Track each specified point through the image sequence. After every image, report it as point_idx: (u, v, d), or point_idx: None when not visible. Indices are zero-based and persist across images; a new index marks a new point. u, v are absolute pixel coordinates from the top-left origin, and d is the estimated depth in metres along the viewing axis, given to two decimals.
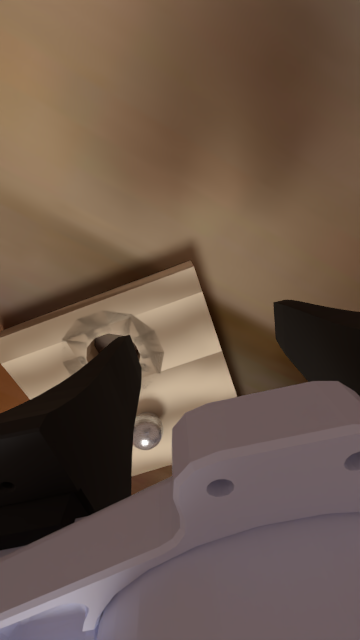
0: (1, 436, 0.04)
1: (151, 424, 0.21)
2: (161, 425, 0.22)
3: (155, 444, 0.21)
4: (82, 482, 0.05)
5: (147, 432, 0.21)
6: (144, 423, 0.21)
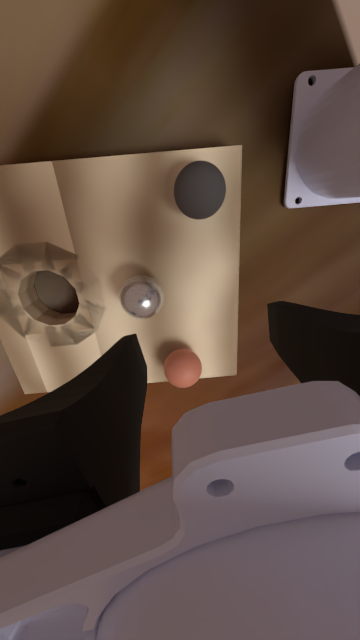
0: (16, 433, 0.04)
1: (123, 287, 0.17)
2: (136, 276, 0.17)
3: (147, 292, 0.16)
4: (94, 480, 0.05)
5: (125, 295, 0.16)
6: (120, 295, 0.17)
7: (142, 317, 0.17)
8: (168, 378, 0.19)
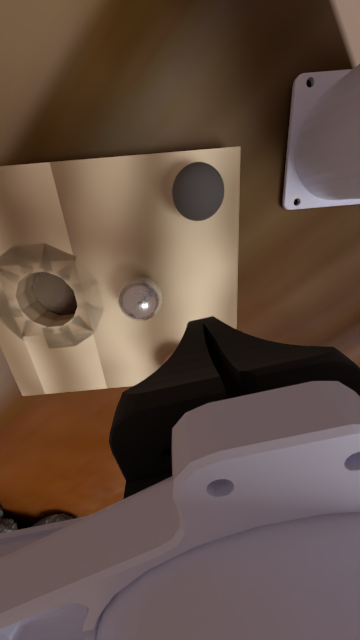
0: (184, 397, 0.04)
1: (121, 289, 0.17)
2: (135, 278, 0.17)
3: (145, 294, 0.16)
4: None
5: (123, 297, 0.16)
6: (118, 296, 0.17)
7: (140, 319, 0.17)
8: None
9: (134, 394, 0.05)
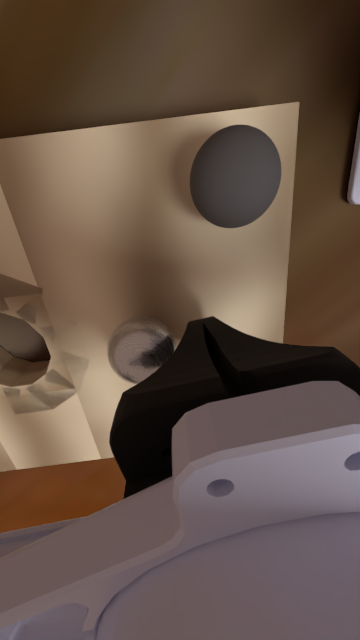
0: (184, 397, 0.04)
1: (112, 340, 0.10)
2: (132, 320, 0.11)
3: (150, 348, 0.10)
4: None
5: (115, 354, 0.10)
6: (107, 351, 0.11)
7: None
8: None
9: (135, 394, 0.05)
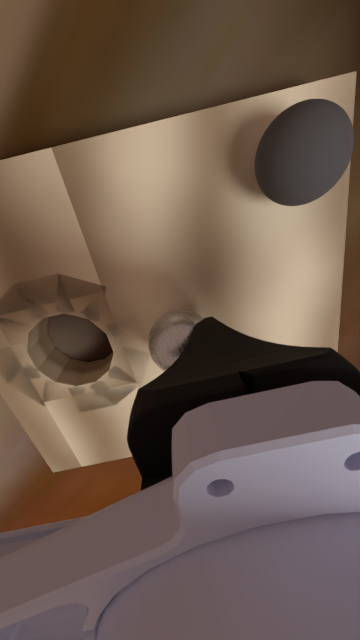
0: (203, 393, 0.04)
1: None
2: (170, 313, 0.11)
3: (165, 344, 0.10)
4: None
5: (148, 338, 0.11)
6: None
7: None
8: None
9: (152, 390, 0.05)
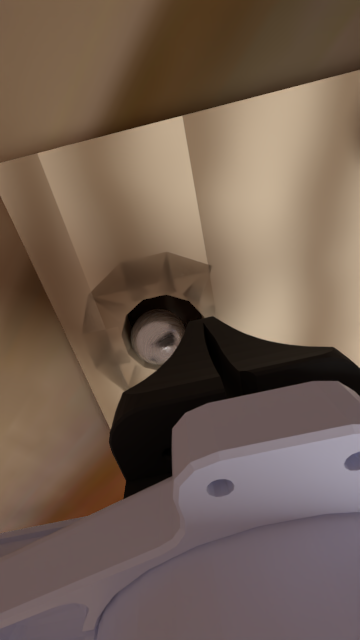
0: (184, 397, 0.04)
1: (137, 338, 0.13)
2: (145, 317, 0.13)
3: (171, 330, 0.13)
4: None
5: (147, 347, 0.12)
6: (136, 348, 0.13)
7: None
8: None
9: (134, 394, 0.05)
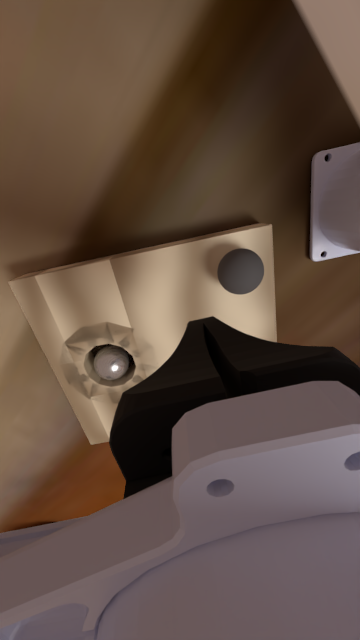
0: (184, 397, 0.04)
1: (98, 363, 0.21)
2: (103, 350, 0.22)
3: (119, 356, 0.21)
4: None
5: (104, 367, 0.21)
6: (98, 369, 0.21)
7: (121, 375, 0.22)
8: None
9: (134, 393, 0.05)
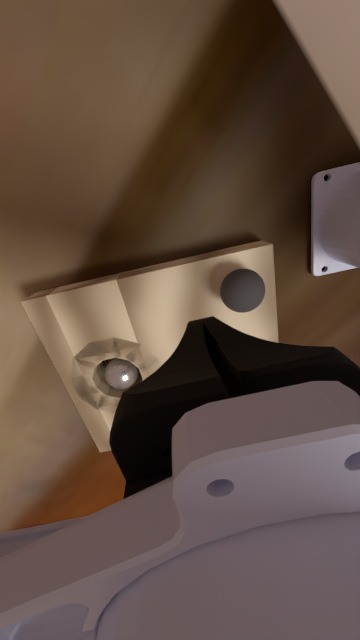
0: (184, 397, 0.04)
1: (112, 371, 0.22)
2: (114, 359, 0.23)
3: (131, 364, 0.23)
4: None
5: (118, 375, 0.22)
6: (111, 378, 0.22)
7: (133, 383, 0.23)
8: None
9: (135, 393, 0.05)
